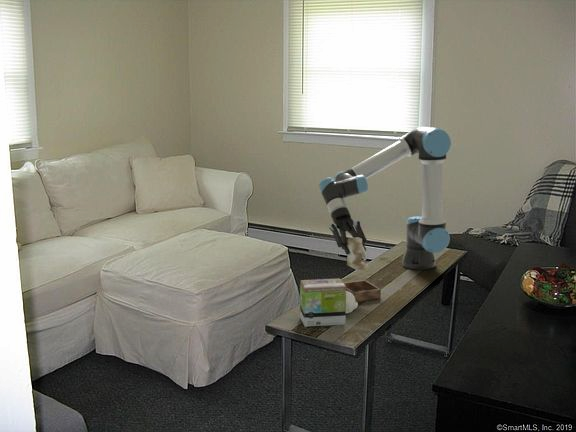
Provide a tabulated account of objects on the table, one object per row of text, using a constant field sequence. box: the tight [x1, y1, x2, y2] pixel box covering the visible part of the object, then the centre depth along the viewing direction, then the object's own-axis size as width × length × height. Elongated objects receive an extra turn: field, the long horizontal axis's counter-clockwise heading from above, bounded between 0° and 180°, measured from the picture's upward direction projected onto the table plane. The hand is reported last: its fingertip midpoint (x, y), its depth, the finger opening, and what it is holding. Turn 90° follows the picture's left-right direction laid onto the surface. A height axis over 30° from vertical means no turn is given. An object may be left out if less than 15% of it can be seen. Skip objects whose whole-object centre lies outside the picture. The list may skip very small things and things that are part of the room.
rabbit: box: [346, 291, 359, 314], centre depth 247 cm, size 12×9×12 cm
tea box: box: [299, 278, 347, 328], centre depth 236 cm, size 15×10×15 cm, turn 99°
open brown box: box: [343, 279, 381, 303], centre depth 264 cm, size 12×13×4 cm
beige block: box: [346, 237, 370, 271], centre depth 260 cm, size 5×8×11 cm, turn 26°
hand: (359, 259), depth 260 cm, fingers closed on beige block, 5 cm apart
